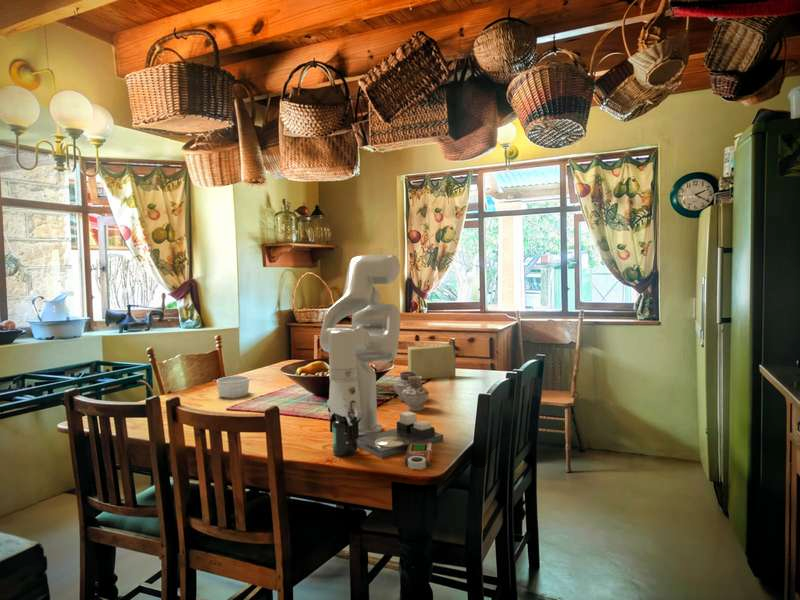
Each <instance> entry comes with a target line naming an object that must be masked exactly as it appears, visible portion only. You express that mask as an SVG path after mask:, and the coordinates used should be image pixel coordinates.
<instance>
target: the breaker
mask: <svg viewBox="0 0 800 600" xmlns="http://www.w3.org/2000/svg"><path fill="white" fill-rule="evenodd" d="M399 421H400V423H403V424H405V425H409V424H413V423H414V422H416V421H417V413H416V412H415V413H414V412H412V411H405V412H401V413H399Z"/></svg>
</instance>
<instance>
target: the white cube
mask: <svg viewBox="0 0 800 600" xmlns="http://www.w3.org/2000/svg"><path fill="white" fill-rule="evenodd" d="M431 427H432V423H431V422H429V421H426V420H424V419H423V420H419V421H417V422H414V428H416V429H419V430H425V429H429V428H431Z"/></svg>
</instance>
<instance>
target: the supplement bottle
mask: <svg viewBox="0 0 800 600" xmlns="http://www.w3.org/2000/svg"><path fill="white" fill-rule="evenodd" d="M350 414H351V413H350ZM335 417H336V420H335V421H334V422H333V424H332V432H331V434H332V452H333V455H334V456H336V457H342V458H344V457H345V458H347V457H352V456H354V455H356V454H357V453H358V446H357V439H354V440H348V437H347V425H349V424H348V421H347V419H346V417H342V416H340V415H338V414H336V416H335ZM350 418H351V420H352V419H353V417H350Z"/></svg>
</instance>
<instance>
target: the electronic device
mask: <svg viewBox="0 0 800 600" xmlns="http://www.w3.org/2000/svg"><path fill="white" fill-rule="evenodd" d="M433 453H434V452H433V444H432V442H409V444H408V448H407V451H406V452H405V458H404V466H405V467H409V468H408V469H410V468H411V470H413V469H420V470H424V469H426V467H428V466H430V465H431V463H432V459H433ZM431 458H432V459H431ZM430 467H431V466H430ZM423 468H424V469H423Z"/></svg>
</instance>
